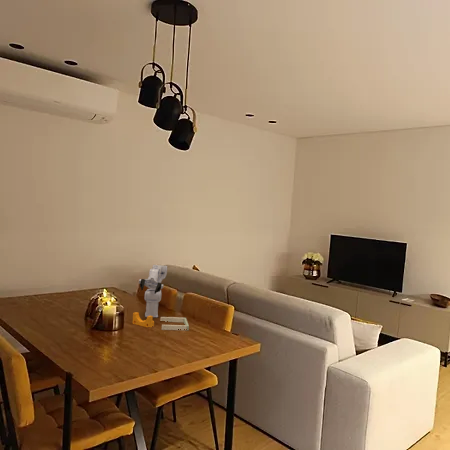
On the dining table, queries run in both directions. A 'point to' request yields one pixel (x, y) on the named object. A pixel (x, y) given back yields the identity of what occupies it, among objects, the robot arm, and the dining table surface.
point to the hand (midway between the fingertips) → (148, 290)
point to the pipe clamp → (138, 321)
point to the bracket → (174, 327)
